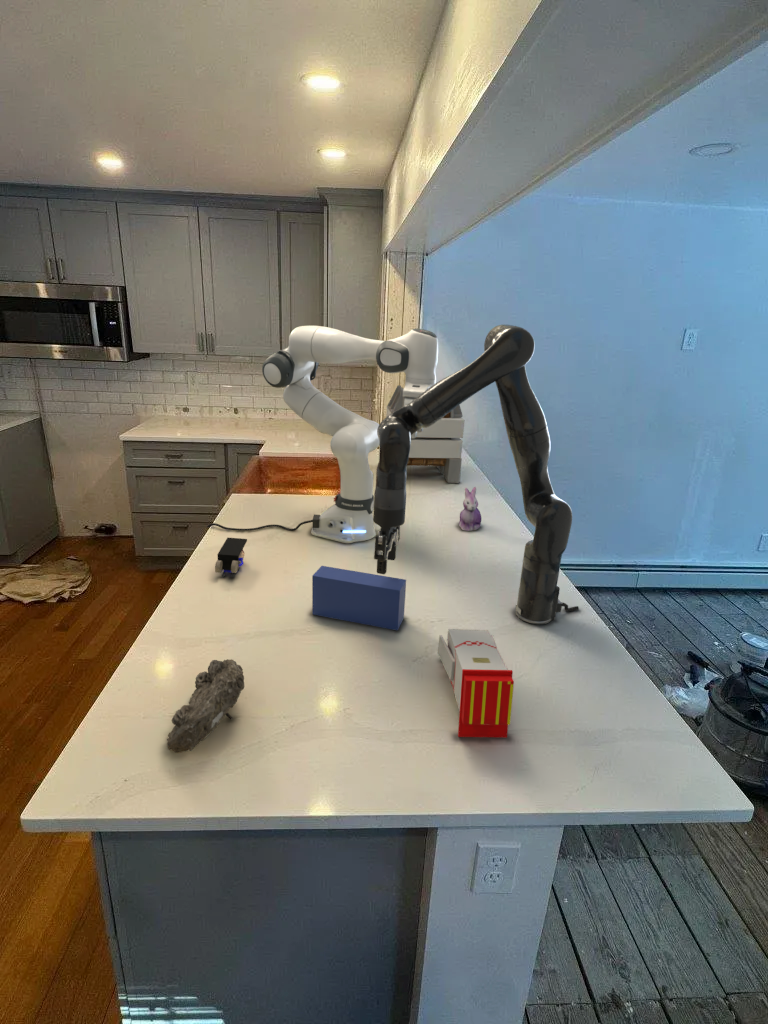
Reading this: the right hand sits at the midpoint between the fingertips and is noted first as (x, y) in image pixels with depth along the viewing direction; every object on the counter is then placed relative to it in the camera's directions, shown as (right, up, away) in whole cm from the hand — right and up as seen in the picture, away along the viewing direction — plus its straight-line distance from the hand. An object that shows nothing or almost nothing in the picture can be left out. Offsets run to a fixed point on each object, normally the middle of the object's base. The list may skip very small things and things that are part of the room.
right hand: (386, 566), depth 139 cm
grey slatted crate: (+17, +32, +136) cm, 141 cm away
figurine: (+31, +8, +70) cm, 77 cm away
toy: (+17, -24, -20) cm, 36 cm away
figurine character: (-45, -4, +29) cm, 54 cm away
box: (-7, -14, +7) cm, 17 cm away
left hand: (+9, +36, +31) cm, 48 cm away
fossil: (-33, -26, -31) cm, 52 cm away
